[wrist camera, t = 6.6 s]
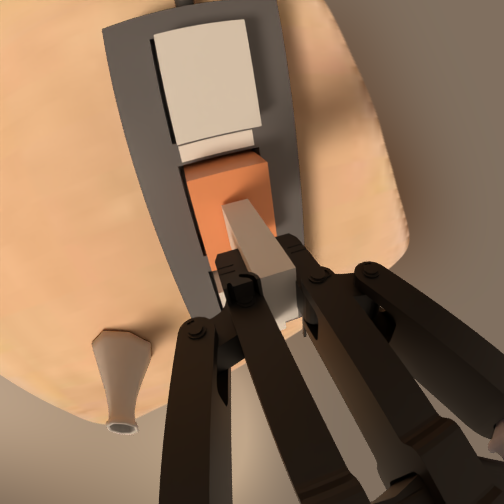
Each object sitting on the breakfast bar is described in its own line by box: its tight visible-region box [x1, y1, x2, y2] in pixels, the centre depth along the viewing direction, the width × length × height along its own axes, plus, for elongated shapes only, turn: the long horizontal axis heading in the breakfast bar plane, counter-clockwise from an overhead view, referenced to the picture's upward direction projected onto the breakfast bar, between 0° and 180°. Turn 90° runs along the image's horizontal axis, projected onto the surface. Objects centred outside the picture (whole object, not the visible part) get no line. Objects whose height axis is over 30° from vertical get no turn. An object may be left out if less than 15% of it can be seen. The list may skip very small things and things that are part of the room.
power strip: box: [102, 0, 304, 322], centre depth 18 cm, size 32×10×4 cm, turn 9°
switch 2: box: [183, 149, 277, 271], centre depth 17 cm, size 6×4×4 cm
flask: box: [92, 331, 151, 435], centre depth 24 cm, size 7×7×10 cm
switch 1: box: [154, 19, 262, 145], centre depth 13 cm, size 6×4×4 cm
